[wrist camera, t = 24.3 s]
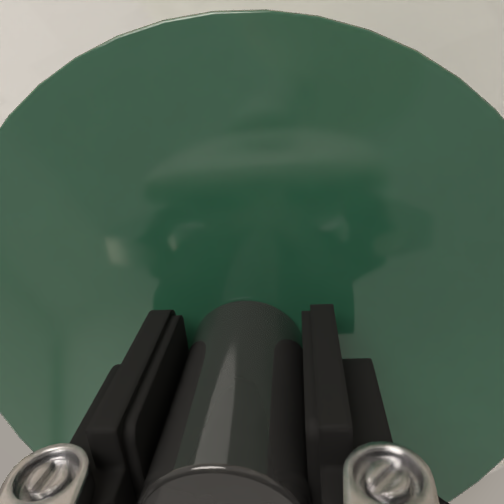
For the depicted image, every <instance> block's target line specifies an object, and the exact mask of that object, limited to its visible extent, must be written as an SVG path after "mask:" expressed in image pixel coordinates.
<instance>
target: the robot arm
mask: <svg viewBox="0 0 504 504" xmlns="http://www.w3.org/2000/svg"><path fill="white" fill-rule="evenodd" d="M301 315H302V344H303V374H304V403H305V430H306V450H307V469H308V485H309V488H310V493H311V503H312V504H449V503H448V502H446V501H445V500H443V499H442V498H440V497H439V496H438V495H437V490H436V486H435V481H434V477H433V475H432V473H431V470H430V468H429V466H428V465H427V464H426V462H425V461H424V460H423V459H422V458H421V456H419V455H418V454H416V453H415V452H413V451H412V450H411V449H409V448H407V447H404V446H402V445H399V444H397V443H393V440H392V436H391V432H390V428H389V424H388V420H387V417H386V413H385V409H384V405H383V401H382V397H381V393H380V389H379V385H378V381H377V377H376V373H375V370H374V366H373V362H372V359H371V358H357V359H342V356H341V350H340V344H339V337H338V331H337V325H336V318H335V312H334V306H333V304H312V305H310V311H301ZM188 352H189V348H188V342H187V336H186V330H185V324H184V318H183V316H182V315H176V313H175V311H174V310H151V311H150V312H149V313H148V315H147V317H146V319H145V320H144V322H143V324H142V326H141V328H140V330H139V332H138V333H137V335H136V337H135V339H134V341H133V343H132V345H131V346H130V348H129V350H128V352H127V354H126V356H125V357H124V359H123V361H122V363H121V364H117V365H114V366H113V367H112V369H111V370H110V372H109V374H108V375H107V377H106V379H105V381H104V382H103V384H102V386H101V388H100V390H99V391H98V393H97V395H96V397H95V398H94V400H93V402H92V404H91V406H90V407H89V409H88V411H87V413H86V414H85V416H84V418H83V420H82V422H81V423H80V425H79V427H78V429H77V430H76V432H75V434H74V436H73V438H72V439H71V441H70V443H59V444H54V445H49V446H46V447H44V448H41V449H39V450H36V451H35V452H33V453H31V454H30V455H28V456H26V457H25V458H24V459H22V460H21V461H20V462H19V463H18V464H17V465H16V466H15V467H14V468H13V469H12V471H11V472H10V473H9V475H8V476H7V477H6V479H5V481H4V483H3V484H2V486H1V488H0V504H137V502H138V499H139V496H140V493H141V490H142V487H143V485H144V482H145V479H146V476H147V473H148V470H149V467H150V464H151V461H152V458H153V455H154V452H155V449H156V446H157V443H158V440H159V437H160V434H161V431H162V429H163V426H164V423H165V420H166V417H167V414H168V411H169V408H170V405H171V402H172V399H173V396H174V393H175V390H176V387H177V384H178V381H179V378H180V375H181V372H182V370H183V367H184V364H185V361H186V358H187V355H188Z"/></svg>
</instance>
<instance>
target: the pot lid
mask: <svg viewBox="0 0 504 504" xmlns="http://www.w3.org/2000/svg"><path fill="white" fill-rule="evenodd" d="M312 304H333V306H334V312H335V318H336V325H337V331H338V337H339V344H340V350H341V356H342V359H357V358H371V359H372V362H373V366H374V370H375V373H376V377H377V381H378V385H379V389H380V393H381V397H382V401H383V405H384V409H385V413H386V417H387V420H388V424H389V428H390V432H391V436H392V440H393V443H397V444H399V445H402V446H404V447H407V448H409V449H411V450H412V451H413V452H415V453H416V454H418V455H419V456H421V458H422V459H423V460H424V461H425V462H426V464H427V465H428V466H429V468H430V470H431V473H432V475H433V477H434V481H435V486H436V490H437V495H438V496H439V497H440V498H442V499H443V500H445V501H446V502H450V501H451V500H453V499H454V498H456V497H457V496H459V495H460V494H462V493H463V492H464V491H466V490H467V489H468V488H470V487H471V486H473V485H474V484H476V483H477V482H478V481H480V480H481V479H482V478H483V477H484V476H485V475H486V474H487V473H488V472H490V471H491V470H492V469H493V468H494V467H495V466H496V465H497V464H498V463H499V462H501V461H502V460H503V459H504V119H503V117H502V116H501V115H500V114H499V113H498V111H497V110H496V109H495V108H494V107H493V106H491V105H490V104H489V103H488V102H487V101H486V100H485V99H483V98H482V97H481V96H480V95H479V94H478V93H477V92H475V91H474V90H473V89H472V88H471V87H470V86H469V85H467V84H466V83H465V82H464V81H463V80H462V79H461V78H459V77H458V76H456V75H455V74H453V73H452V72H450V71H448V70H447V69H445V68H444V67H442V66H441V65H439V64H437V63H436V62H434V61H433V60H431V59H430V58H428V57H426V56H425V55H423V54H422V53H420V52H418V51H417V50H415V49H412V48H410V47H408V46H406V45H403V44H401V43H399V42H396V41H394V40H392V39H390V38H387V37H385V36H383V35H381V34H378V33H376V32H374V31H371V30H369V29H365V28H362V27H358V26H354V25H351V24H347V23H343V22H340V21H336V20H332V19H329V18H325V17H321V16H317V15H308V14H300V13H291V12H283V11H275V10H230V11H211V12H205V13H200V14H194V15H189V16H183V17H177V18H172V19H166V20H162V21H159V22H156V23H153V24H150V25H147V26H144V27H141V28H138V29H136V30H133V31H130V32H127V33H124V34H121V35H118V36H116V37H114V38H112V39H110V40H108V41H106V42H104V43H102V44H100V45H98V46H96V47H95V48H93V49H91V50H89V51H87V52H85V53H83V54H81V55H79V56H77V57H75V58H74V59H73V60H71V61H70V62H69V63H67V64H66V65H65V66H63V67H62V68H60V69H59V70H58V71H56V72H55V73H54V74H52V75H51V76H50V77H48V78H47V79H46V80H44V81H43V82H42V83H40V84H39V85H38V86H37V87H36V88H35V89H34V90H33V91H32V92H31V93H30V94H29V95H28V96H27V97H26V98H25V99H24V100H23V101H22V102H21V103H20V104H19V105H18V106H17V107H16V108H15V109H14V110H13V112H12V113H11V114H10V115H9V116H8V117H7V119H6V120H5V122H4V123H3V124H2V126H1V127H0V414H1V415H2V416H3V417H4V419H5V420H6V421H7V422H8V424H9V425H10V426H11V428H12V429H13V430H14V431H15V433H16V434H17V435H18V436H19V438H20V439H21V440H22V441H23V442H24V443H25V444H26V445H27V446H28V447H29V448H30V449H31V450H32V451H33V452H35V451H36V450H39V449H41V448H44V447H46V446H49V445H54V444H59V443H70V441H71V439H72V438H73V436H74V434H75V432H76V430H77V429H78V427H79V425H80V423H81V422H82V420H83V418H84V416H85V414H86V413H87V411H88V409H89V407H90V406H91V404H92V402H93V400H94V398H95V397H96V395H97V393H98V391H99V390H100V388H101V386H102V384H103V382H104V381H105V379H106V377H107V375H108V374H109V372H110V370H111V369H112V367H113V366H114V365H117V364H121V363H122V361H123V359H124V357H125V356H126V354H127V352H128V350H129V348H130V346H131V345H132V343H133V341H134V339H135V337H136V335H137V333H138V332H139V330H140V328H141V326H142V324H143V322H144V320H145V319H146V317H147V315H148V313H149V312H150V311H151V310H174V311H175V313H176V315H182V316H183V318H184V324H185V330H186V336H187V342H188V348H189V352H188V355H187V358H186V361H185V364H184V367H183V370H182V372H181V375H180V378H179V381H178V384H177V387H176V390H175V393H174V396H173V399H172V402H171V405H170V408H169V411H168V414H167V417H166V420H165V423H164V426H163V429H162V431H161V434H160V437H159V440H158V443H157V446H156V449H155V452H154V455H153V458H152V461H151V464H150V467H149V470H148V473H147V476H146V479H145V482H144V485H143V487H142V490H141V493H140V496H139V499H138V502H137V504H312V503H311V493H310V488H309V485H308V469H307V450H306V430H305V403H304V374H303V344H302V315H301V311H310V305H312Z"/></svg>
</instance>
